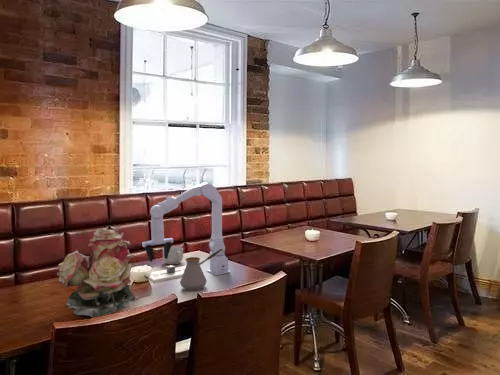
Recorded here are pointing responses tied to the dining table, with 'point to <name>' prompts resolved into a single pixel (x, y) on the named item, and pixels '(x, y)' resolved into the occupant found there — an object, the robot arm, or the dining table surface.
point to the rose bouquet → (99, 275)
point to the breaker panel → (167, 274)
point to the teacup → (174, 255)
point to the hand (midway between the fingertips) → (158, 259)
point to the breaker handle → (170, 269)
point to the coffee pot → (194, 274)
